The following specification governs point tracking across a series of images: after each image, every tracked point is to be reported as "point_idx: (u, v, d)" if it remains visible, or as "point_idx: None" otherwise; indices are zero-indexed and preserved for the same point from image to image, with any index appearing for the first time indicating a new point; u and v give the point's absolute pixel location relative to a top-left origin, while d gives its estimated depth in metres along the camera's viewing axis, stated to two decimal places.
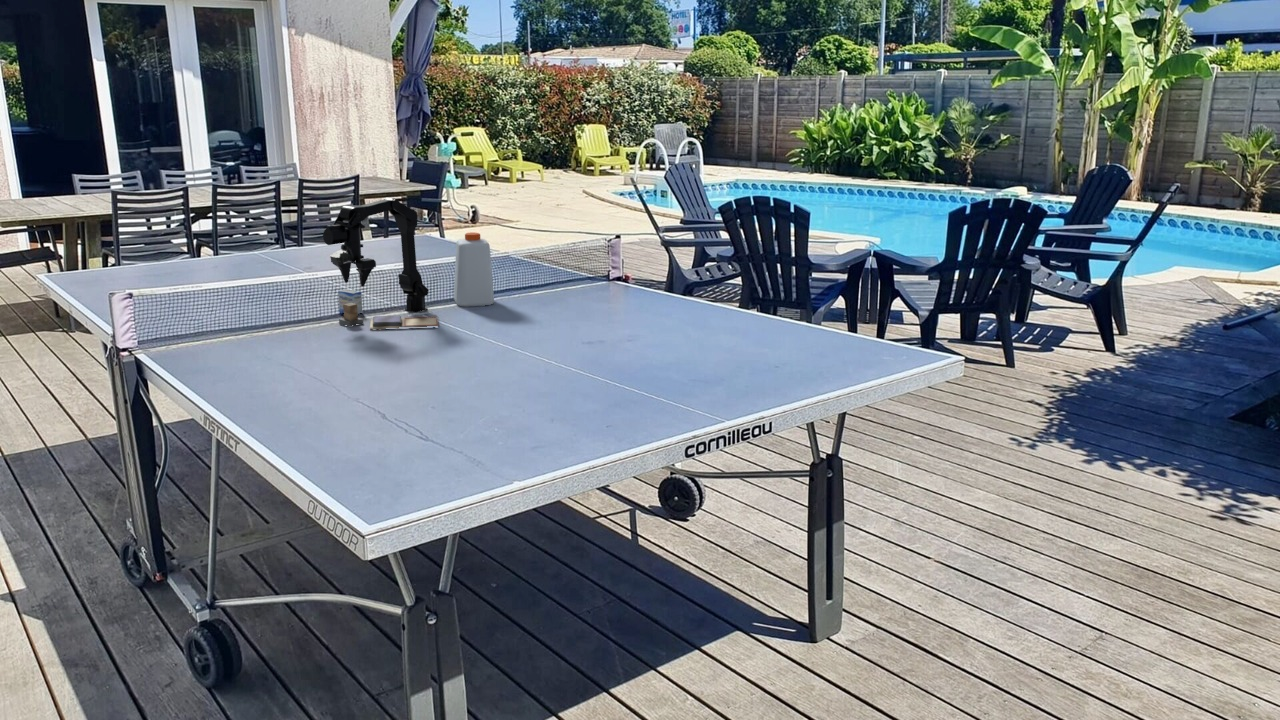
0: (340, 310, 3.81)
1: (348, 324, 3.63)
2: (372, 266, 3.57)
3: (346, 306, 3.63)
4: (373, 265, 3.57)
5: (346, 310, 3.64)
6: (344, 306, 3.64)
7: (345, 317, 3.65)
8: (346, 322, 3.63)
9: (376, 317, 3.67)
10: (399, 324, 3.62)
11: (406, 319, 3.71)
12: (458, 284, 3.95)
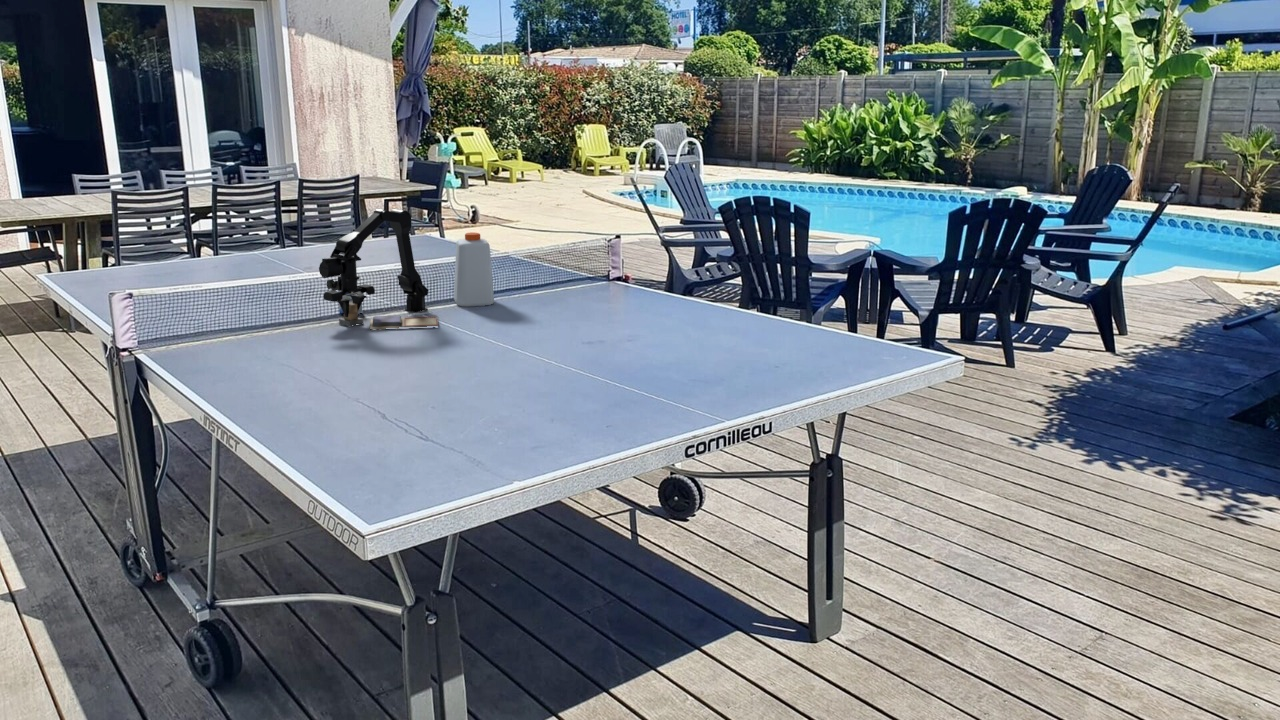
0: (340, 310, 3.81)
1: (348, 324, 3.63)
2: (330, 299, 3.56)
3: None
4: (330, 299, 3.56)
5: None
6: None
7: (345, 317, 3.65)
8: (346, 322, 3.63)
9: (376, 317, 3.67)
10: (399, 324, 3.62)
11: (406, 319, 3.71)
12: (458, 284, 3.95)
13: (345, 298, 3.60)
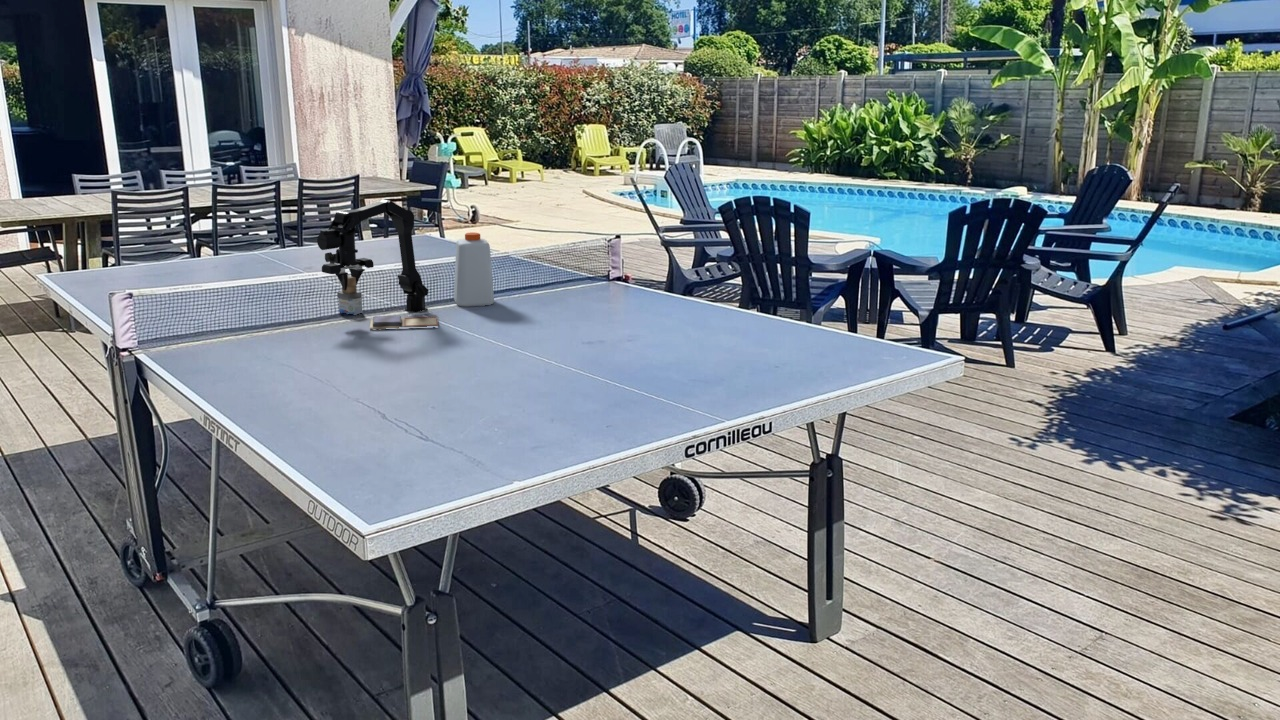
0: (340, 310, 3.81)
1: (346, 297, 3.60)
2: (328, 272, 3.53)
3: None
4: (328, 271, 3.53)
5: None
6: None
7: (343, 290, 3.62)
8: (344, 295, 3.61)
9: (376, 317, 3.67)
10: (399, 324, 3.62)
11: (406, 319, 3.71)
12: (458, 284, 3.95)
13: (343, 271, 3.57)
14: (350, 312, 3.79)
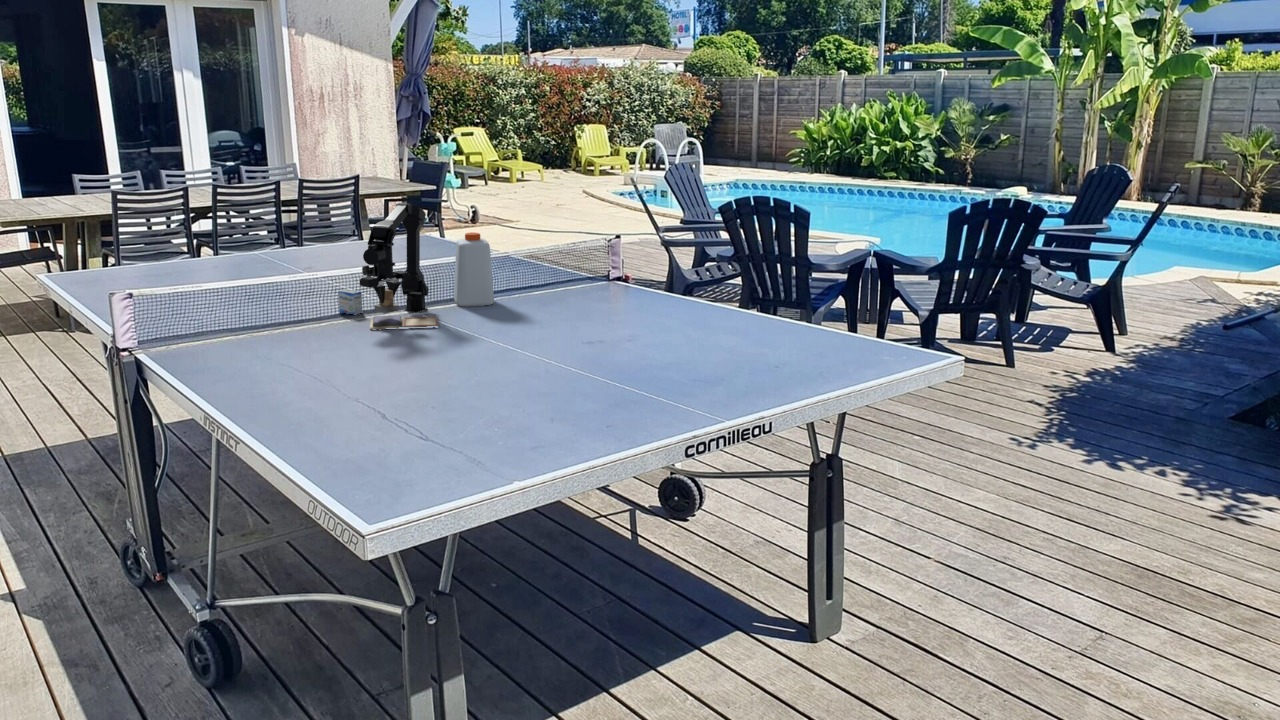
0: (340, 310, 3.81)
1: (384, 310, 3.61)
2: (366, 285, 3.54)
3: None
4: (367, 285, 3.53)
5: None
6: None
7: (381, 303, 3.63)
8: (382, 308, 3.61)
9: (376, 317, 3.67)
10: (399, 324, 3.62)
11: (406, 319, 3.71)
12: (458, 284, 3.95)
13: (381, 284, 3.58)
14: (350, 312, 3.79)
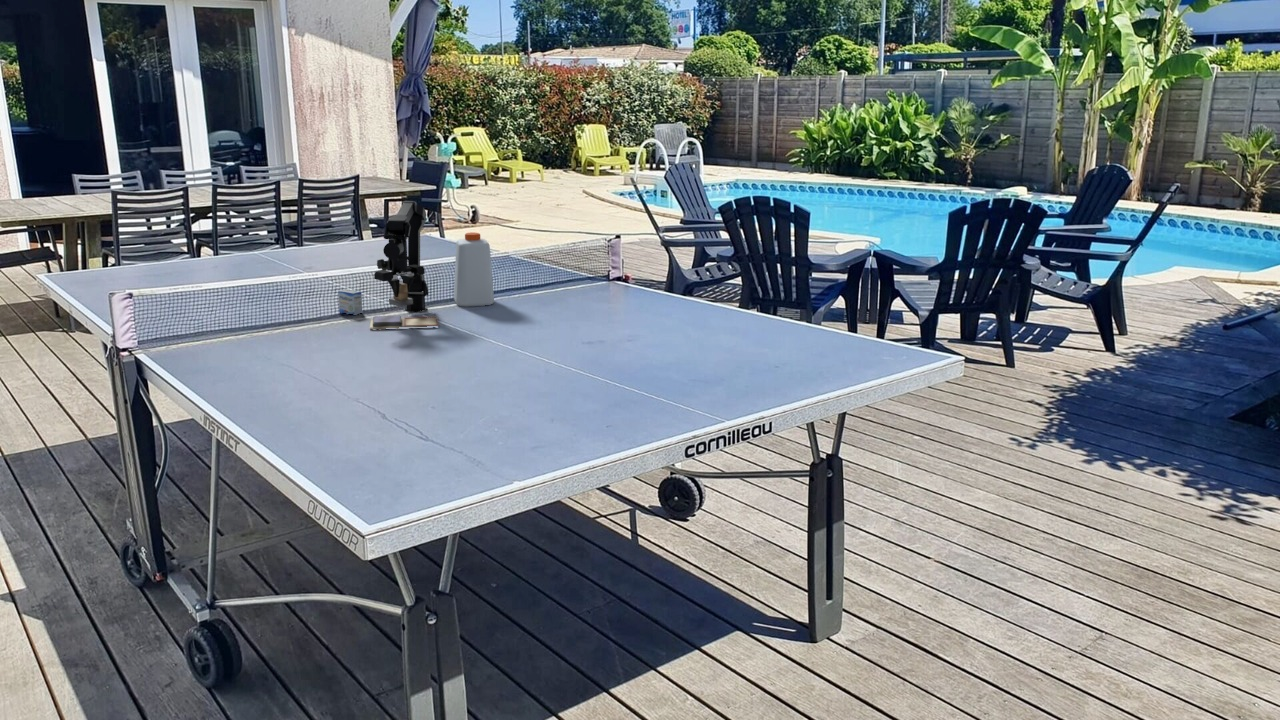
0: (340, 310, 3.81)
1: (398, 304, 3.61)
2: (380, 279, 3.54)
3: None
4: (381, 278, 3.54)
5: None
6: None
7: (395, 297, 3.64)
8: (396, 302, 3.62)
9: (376, 317, 3.67)
10: (399, 324, 3.62)
11: (406, 319, 3.71)
12: (458, 284, 3.95)
13: (396, 278, 3.58)
14: (350, 312, 3.79)
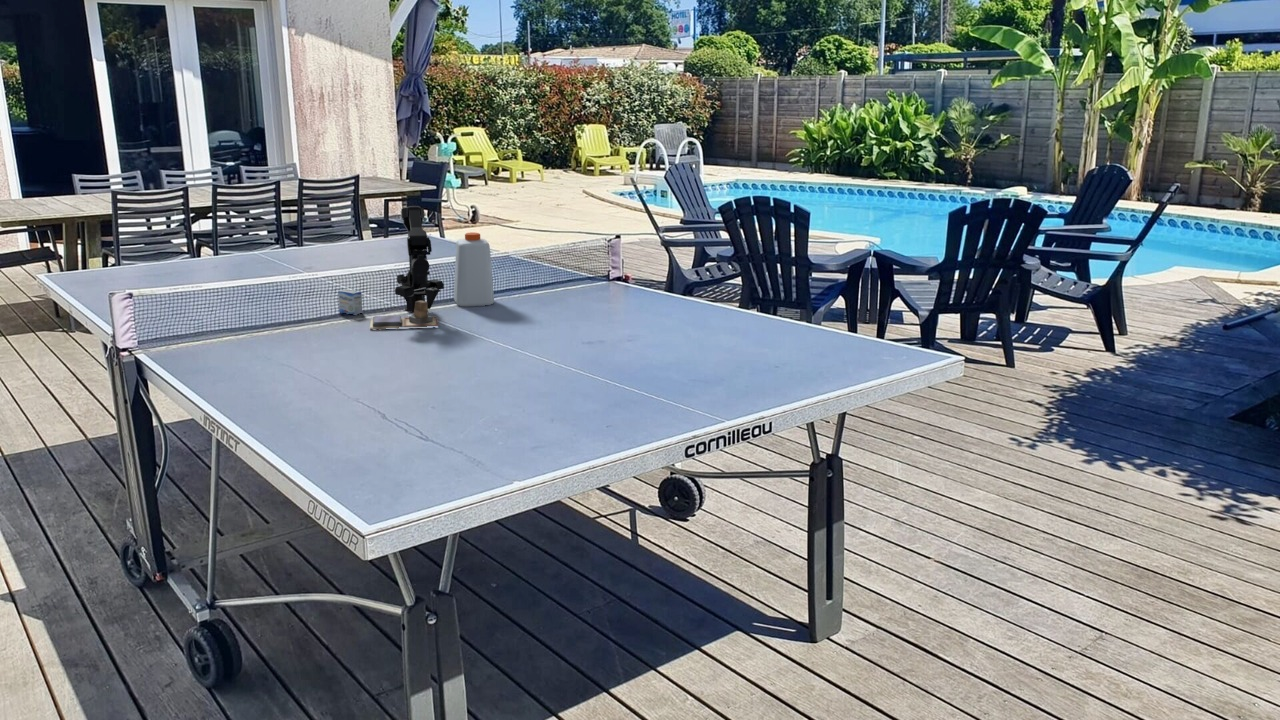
0: (340, 310, 3.81)
1: (419, 322, 3.65)
2: (401, 294, 3.57)
3: (416, 304, 3.65)
4: (402, 294, 3.57)
5: (416, 308, 3.66)
6: None
7: (415, 315, 3.67)
8: (416, 320, 3.65)
9: (376, 317, 3.67)
10: (399, 324, 3.62)
11: (406, 319, 3.71)
12: (458, 284, 3.95)
13: None
14: (350, 312, 3.79)
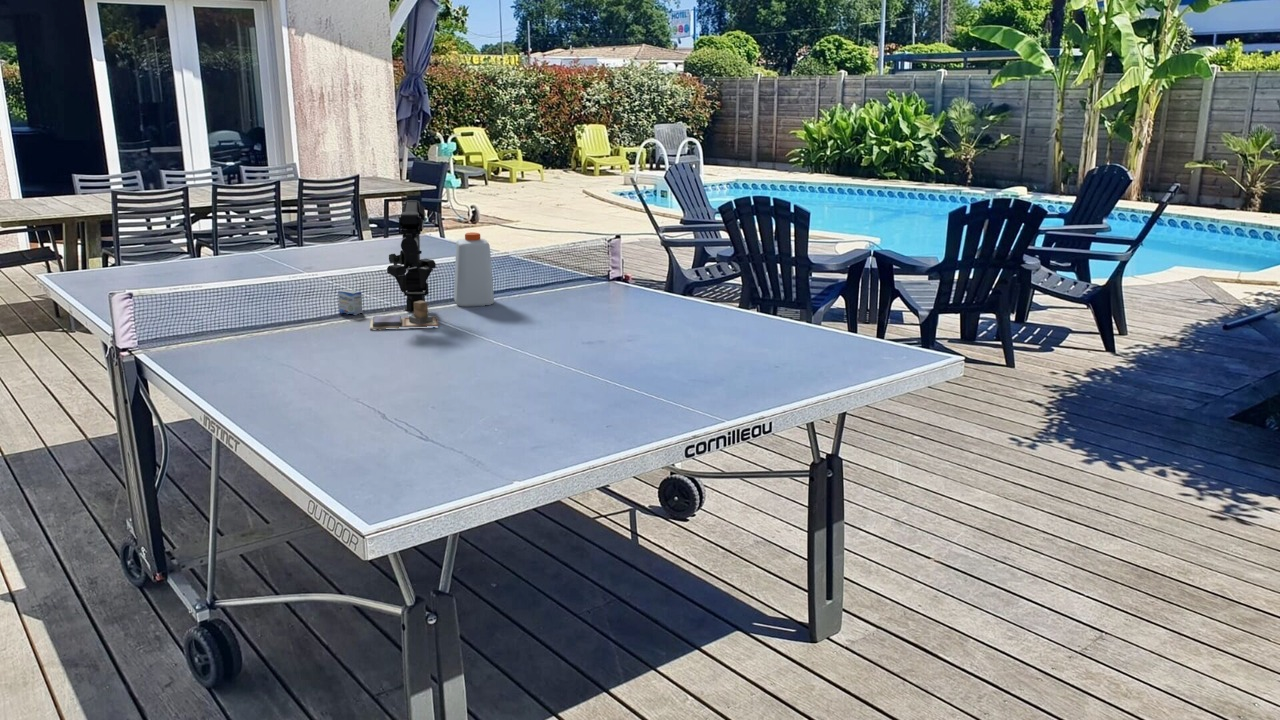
0: (340, 310, 3.81)
1: (419, 322, 3.65)
2: (394, 273, 3.59)
3: (416, 304, 3.65)
4: (394, 273, 3.58)
5: (416, 308, 3.66)
6: (414, 304, 3.66)
7: (415, 315, 3.67)
8: (416, 320, 3.65)
9: (376, 317, 3.67)
10: (399, 324, 3.62)
11: (406, 319, 3.71)
12: (458, 284, 3.95)
13: None
14: (350, 312, 3.79)
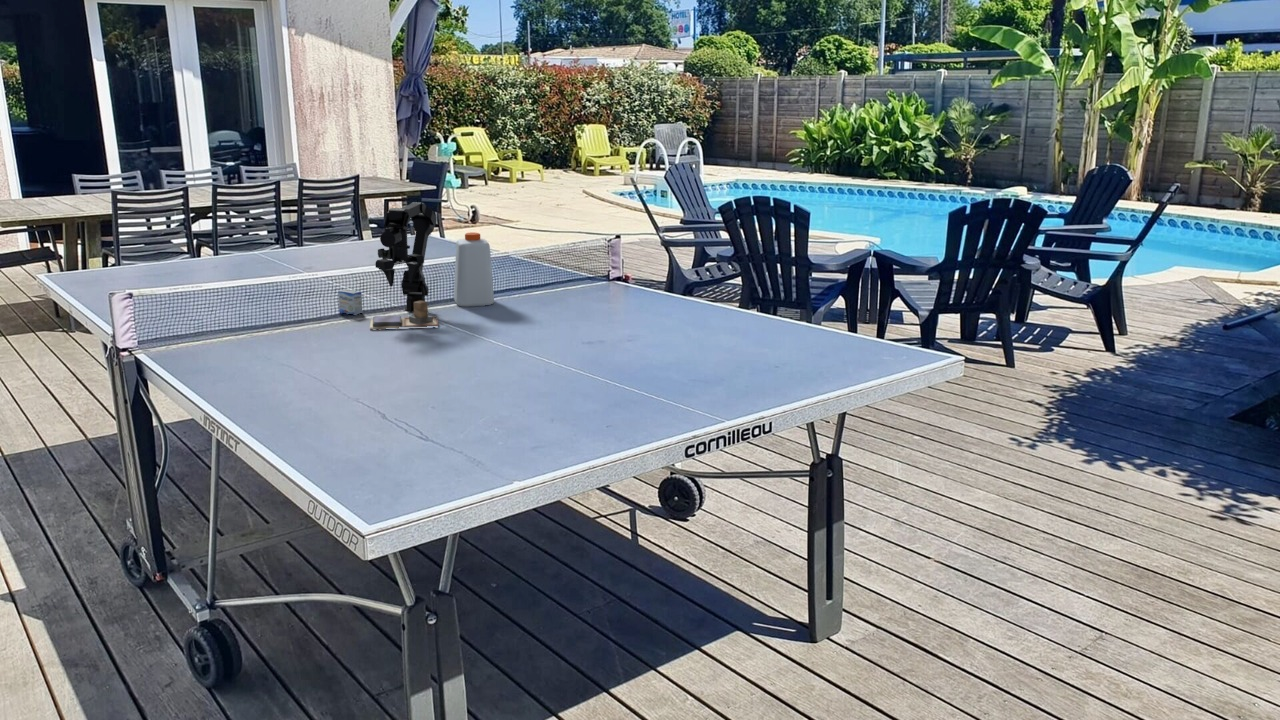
0: (340, 310, 3.81)
1: (419, 322, 3.65)
2: (382, 267, 3.63)
3: (416, 304, 3.65)
4: (382, 267, 3.63)
5: (416, 308, 3.66)
6: (414, 304, 3.66)
7: (415, 315, 3.67)
8: (416, 320, 3.65)
9: (376, 317, 3.67)
10: (399, 324, 3.62)
11: (406, 319, 3.71)
12: (458, 284, 3.95)
13: None
14: (350, 312, 3.79)
